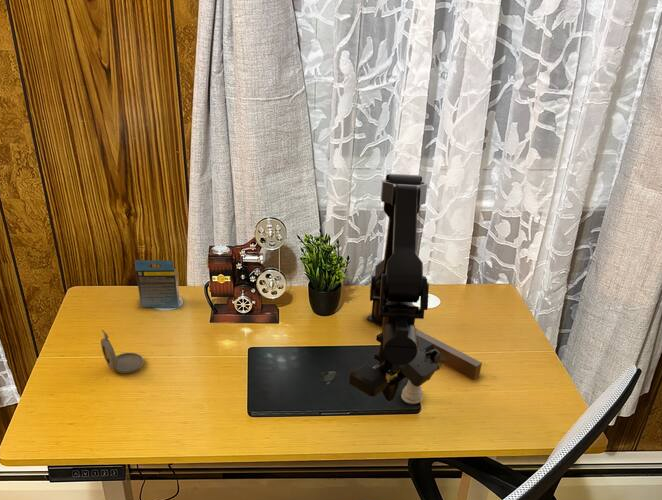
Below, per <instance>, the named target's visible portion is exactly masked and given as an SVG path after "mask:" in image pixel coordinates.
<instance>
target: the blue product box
mask: <svg viewBox="0 0 662 500" xmlns="http://www.w3.org/2000/svg"><path fill="white" fill-rule="evenodd" d="M133 261H134V269H135V277H136V283H137V288H138V295H139V296H138V297H139V304H140V307H141V308H142V309H143V308H146V309H147V308H179V307H180V292H179V283H178V273H177V268H174V261H173V260H172V259H170V260H169V259H168V260H167V259H166V260H163V259H162V260H161V259H160V260H157V259H154V260H153V259H149V260H148V259H145V260H141V259H135V260H133ZM153 265H156V266H153Z"/></svg>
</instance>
